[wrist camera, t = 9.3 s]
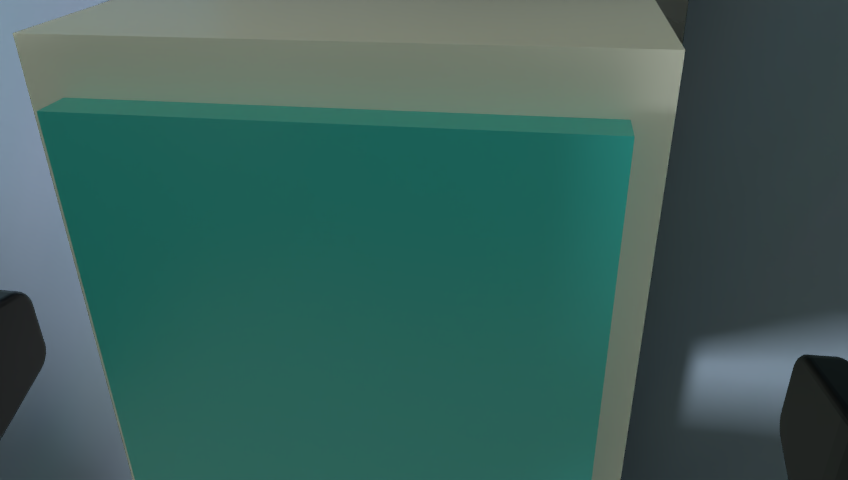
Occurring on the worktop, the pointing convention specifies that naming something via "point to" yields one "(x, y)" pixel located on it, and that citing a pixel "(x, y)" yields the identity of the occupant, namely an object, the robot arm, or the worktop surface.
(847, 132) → the worktop surface
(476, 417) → the loose module
